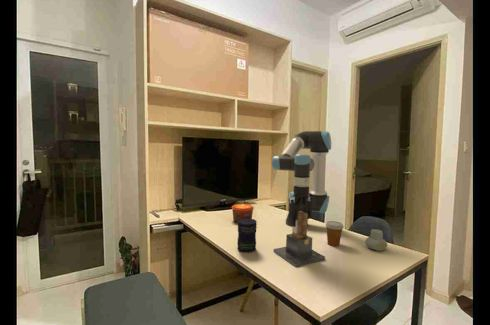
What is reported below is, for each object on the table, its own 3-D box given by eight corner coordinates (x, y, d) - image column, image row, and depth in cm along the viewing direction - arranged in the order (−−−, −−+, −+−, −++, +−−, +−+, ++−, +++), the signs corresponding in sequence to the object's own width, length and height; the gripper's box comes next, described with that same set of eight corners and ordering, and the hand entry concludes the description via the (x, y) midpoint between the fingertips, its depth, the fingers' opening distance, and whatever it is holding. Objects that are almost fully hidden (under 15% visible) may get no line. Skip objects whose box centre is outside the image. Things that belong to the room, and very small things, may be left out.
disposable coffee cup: (342, 242, 149) (343, 222, 148) (342, 248, 140) (343, 227, 139) (324, 240, 152) (325, 220, 151) (324, 246, 143) (325, 224, 142)
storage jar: (254, 253, 131) (255, 224, 130) (235, 251, 132) (236, 223, 131) (257, 246, 140) (257, 219, 139) (239, 244, 142) (239, 217, 141)
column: (299, 249, 133) (301, 210, 131) (306, 252, 128) (307, 213, 127) (291, 250, 130) (292, 211, 129) (297, 254, 126) (299, 214, 124)
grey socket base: (301, 246, 142) (301, 228, 141) (325, 259, 126) (326, 239, 125) (273, 251, 133) (274, 232, 133) (295, 267, 117) (296, 245, 117)
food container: (226, 221, 183) (227, 206, 182) (239, 216, 196) (239, 202, 196) (245, 225, 174) (245, 210, 174) (257, 220, 188) (258, 205, 187)
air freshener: (379, 245, 146) (380, 228, 145) (390, 251, 138) (391, 233, 137) (361, 246, 144) (363, 228, 144) (371, 252, 136) (372, 233, 135)
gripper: (291, 187, 119) (289, 237, 121) (320, 185, 128) (318, 231, 129) (281, 185, 126) (280, 232, 128) (310, 183, 134) (308, 227, 136)
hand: (299, 231), depth 129 cm, fingers closed on column, 5 cm apart
